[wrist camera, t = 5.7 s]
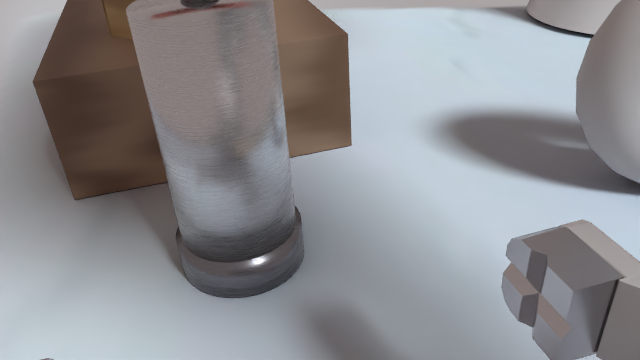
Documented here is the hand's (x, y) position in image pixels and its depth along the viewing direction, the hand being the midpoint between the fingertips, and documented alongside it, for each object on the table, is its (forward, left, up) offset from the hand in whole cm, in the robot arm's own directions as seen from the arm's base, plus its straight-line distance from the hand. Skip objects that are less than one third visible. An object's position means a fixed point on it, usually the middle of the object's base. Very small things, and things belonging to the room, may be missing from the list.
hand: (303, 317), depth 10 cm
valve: (0, -11, -7) cm, 13 cm away
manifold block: (0, -29, -7) cm, 29 cm away
